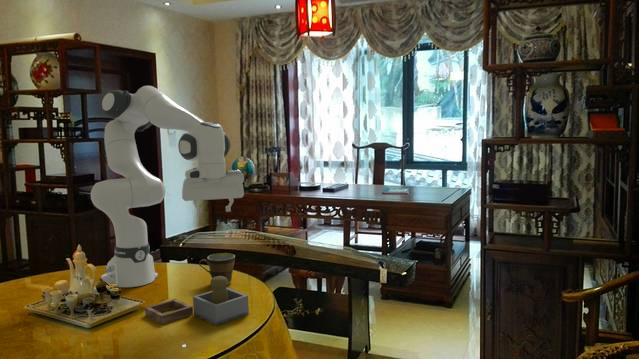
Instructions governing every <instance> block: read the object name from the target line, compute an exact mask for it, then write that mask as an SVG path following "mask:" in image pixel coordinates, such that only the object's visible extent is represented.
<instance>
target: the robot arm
mask: <svg viewBox="0 0 639 359" xmlns="http://www.w3.org/2000/svg"><path fill="white" fill-rule="evenodd" d="M100 107H101V111H102V112H103V114H104V115H105V116H107V117H109V118H110V119H113V120H111V121H108V123H106V124H105V127H104V137H103V138H104V147H105V153H106V155H105V156H106V161H107V166H108V168H109V169H110V170H111V171H112V172H113V173H116V174H117V175H121V176H123V177H124V178H112V179H106V180H102V181H99V182H96V183H95V184H94V185H93V187H92V188H91V190H90V199H91V202H92V205H93V206H94V207H95V208H96V209H98V210H100V211H102V212H103V213H104V214H105V215H106V216H107V217H108V218H109V219H110V221H111V222H112V225H113V230H114V235H115V245H113V247H114V250H113V252H114V255H113V257H111V259H110V260H109V261H108V262H107V265H106V266H105V268H104V269H105V273H104V274H102V275H101V276H100V278H101V280H102V281H103V282H104V281H105V282H107V283H109V284H117V286H118V287H117V288H134V287H136V288H137V287H141V286H145V285H148V284H151V283H152V282H154V281H155V279H156V278H158V277H159V273H158V272H156V270H155V265H154V257H153V255H152V254H150V251H151V250H150V243H149V241H148V240H149V239H148V225H147V223H146V221H145V220H144V219H142V218H140V217H137V216H135V215H133V214H130V212H129V209H133V208H141V207H142V208H144V207H150V206H154V205H157V204H160V203H162V201H163V200H164V198H165V195H166V186H165V184H164V182H163V181H162V180H161V179H160V178H158V177H157V176H155V175H153V174H151V172H149V171H148V170H147V169H146V168H145V166H143V164H142V162H141V159H140V156H139V152H138V147H137V144H136V143H137V142H136V139H135V133H136V132H139V133H140V132H144V130H146V129H149V128H150V127H151V126H153V125H154V126H155V127H157V128H159V129H162V130H163V129H164V130H176V131H184V132H186V133H183V134H181V136H180V138H179V141H178V146H177V147H178V151H179V153H180V155H181V157H182V158H183V159H185V160H186V161H198V166H196V167H193V168H190V169H188V170H185V171H184V172H185V173H184V174H185V175H184V176H185V179H184V180H183V182H182V188H181V189H182V190H181V193H182V194H181V196H182V199H183V201H184V202H188V201H189V202H190V201H193V202H192V203H193V205H194V207H195V208H196V210H197V211H196V212H197V214H198V215H199V214H202V213H203V208H202V207H199V205H198V204H199V201H205V200H206V201H207V200H224V199H225V200H226V199H228V201H229V203H228V205H226V206H225V212H226V213H229V212H232V210H231V209H232V208H231V207H232V205H233V203H234V201H235V200H234V199H242V198H243V197H244V196H245V190H244V184H243V183H244V182H245V175H244V173H243V172H242V171H240V170H239V169H237V170H227V168H226V167H227V165H226V159H225V157H226V156H227V155H228V154H229V152H230V149H231V142H230V138H229V136H228V135H227V134H226V133H225V132H224V129H223V126H222V125H221V124H219V123H217V122H210V121H204V120H203V119H201V118H200V117H199V116H197V115H196V114H194V113H193V112H191V111H190V110H187V109H185V108H184V107H182V106H181V105H179V104H177V103H176V102H175V101H173V100H172V99H171V98H170V97H169V96H167V94H165V93H164V92H163V91H161V90H160V89H158V88H156V87H154V86H153V85H143V86H142V87H140V88H138V89H137V91H136V92H135V93H130V92H129V91H128V90H119V89H112V90H109V91H107V92H105V94H104V95H103V97H102V99H101V103H100ZM105 282H104V283H105Z"/></svg>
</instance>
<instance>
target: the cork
mask: <svg viewBox="0 0 639 359" xmlns="http://www.w3.org/2000/svg"><path fill="white" fill-rule="evenodd" d="M228 285H229V284H228V280H227V278H226V277H224V276H216V277H214V278H212V277H211V279H210V287H211V288H212V290H211V291H212V301H211V302H212V303H214V304H219V303H223V302H226V301H228V295H227V289H226V287H228Z"/></svg>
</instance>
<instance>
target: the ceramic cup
mask: <svg viewBox="0 0 639 359" xmlns="http://www.w3.org/2000/svg"><path fill="white" fill-rule="evenodd" d="M206 258H207V259H206ZM206 258H205V259H204V258H203V259H201V260H199V262H198V264H199V267H201V268H202V269H203V270H205V271H206V272H207V273H208V274H209V275H210V277H211V279H212V278H214V277H216V276H224V277H226V278H227V280H228V285H230V284H232V279H233V278H232V277H233V270H234V265H235V260H236V259H235V258H236V255H235V254H233V253H228V252H221V253H213V254H210V255H208V256H207V257H206ZM202 262H204V263H205V262H206V264H207V265H208V267H209V270H208V269H207V268H206V267H204V266H202V265H201V263H202Z"/></svg>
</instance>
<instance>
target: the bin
mask: <svg viewBox="0 0 639 359" xmlns="http://www.w3.org/2000/svg"><path fill="white" fill-rule="evenodd" d="M226 289H227V295H228V301H226V302H223V303H219V304H214V303H212V302H211V301H212V290H211V291H208V292H203V293H201V294H197V295H193V297H192V303H193V306H192V307H193V316H195V317H197V318H199V319H201V320H203V321H205V322H208V323H209V322H210V323H209V324H212V325H213V324H214V326H215V327H217V326H220V325H223V324H226V323H229V322H231V321H234V320H237V319H240V318H242V317H245V316H248V315H250V314H249V311H250V310H249V308H250V307H249V295H248V294H245V293H242V292H240V291H237V290H234V289H232V288H230V287H228V286H226ZM228 321H229V322H228ZM225 322H226V323H225Z"/></svg>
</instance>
